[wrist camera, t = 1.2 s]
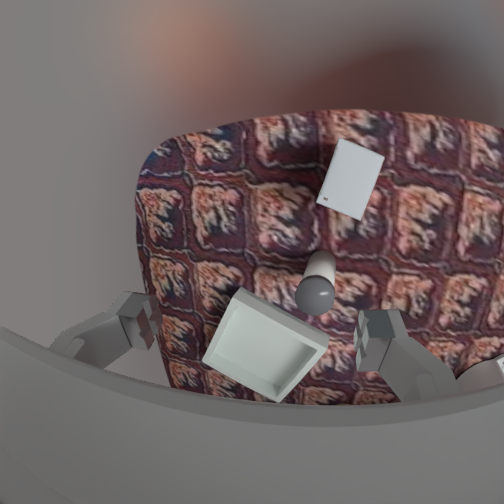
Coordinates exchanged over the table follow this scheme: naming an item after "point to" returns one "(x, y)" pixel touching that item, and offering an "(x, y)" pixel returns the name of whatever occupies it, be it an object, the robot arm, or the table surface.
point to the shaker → (317, 284)
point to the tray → (264, 346)
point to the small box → (350, 179)
